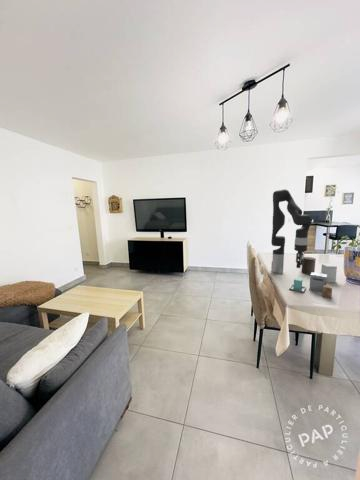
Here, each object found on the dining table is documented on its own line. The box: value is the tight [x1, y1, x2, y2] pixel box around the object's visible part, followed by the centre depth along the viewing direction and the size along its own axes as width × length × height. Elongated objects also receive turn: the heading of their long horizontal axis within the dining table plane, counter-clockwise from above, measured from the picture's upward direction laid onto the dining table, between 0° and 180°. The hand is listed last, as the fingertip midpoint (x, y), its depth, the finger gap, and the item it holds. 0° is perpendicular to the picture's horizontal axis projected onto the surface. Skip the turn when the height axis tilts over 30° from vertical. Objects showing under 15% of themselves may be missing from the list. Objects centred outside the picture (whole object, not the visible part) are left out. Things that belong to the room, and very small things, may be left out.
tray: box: [288, 283, 307, 294], centre depth 138 cm, size 9×9×1 cm
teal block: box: [293, 277, 303, 290], centre depth 138 cm, size 4×4×7 cm
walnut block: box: [322, 284, 334, 300], centre depth 125 cm, size 4×4×7 cm
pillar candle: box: [301, 256, 316, 275], centre depth 170 cm, size 10×10×15 cm
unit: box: [309, 272, 328, 293], centre depth 136 cm, size 9×8×11 cm
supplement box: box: [320, 263, 338, 283], centre depth 152 cm, size 7×7×13 cm
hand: (299, 266), depth 136 cm, fingers open, 8 cm apart
